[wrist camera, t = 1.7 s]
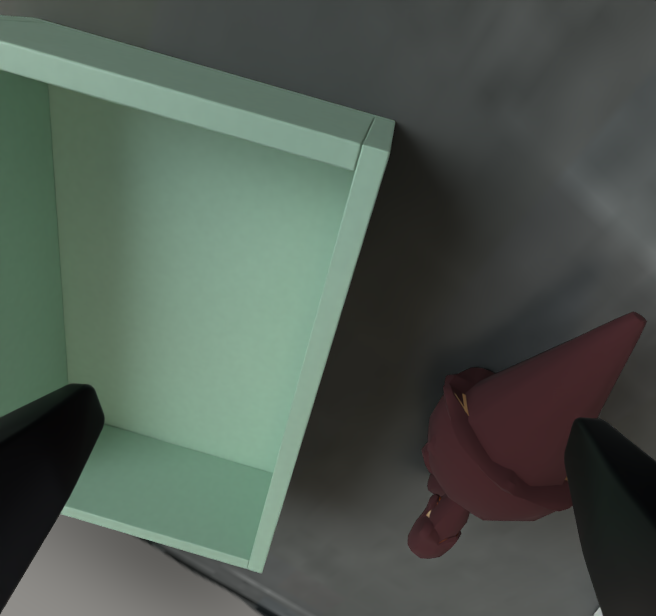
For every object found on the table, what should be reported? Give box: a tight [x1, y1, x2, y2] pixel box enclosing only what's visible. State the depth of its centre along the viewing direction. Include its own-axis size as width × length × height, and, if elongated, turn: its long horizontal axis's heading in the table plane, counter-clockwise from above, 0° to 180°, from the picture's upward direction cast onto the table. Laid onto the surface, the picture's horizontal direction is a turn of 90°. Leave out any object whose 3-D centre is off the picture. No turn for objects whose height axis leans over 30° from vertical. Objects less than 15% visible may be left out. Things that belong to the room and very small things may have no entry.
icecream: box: [408, 312, 647, 559], centre depth 20 cm, size 7×7×15 cm
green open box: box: [0, 15, 395, 573], centre depth 21 cm, size 15×22×6 cm
